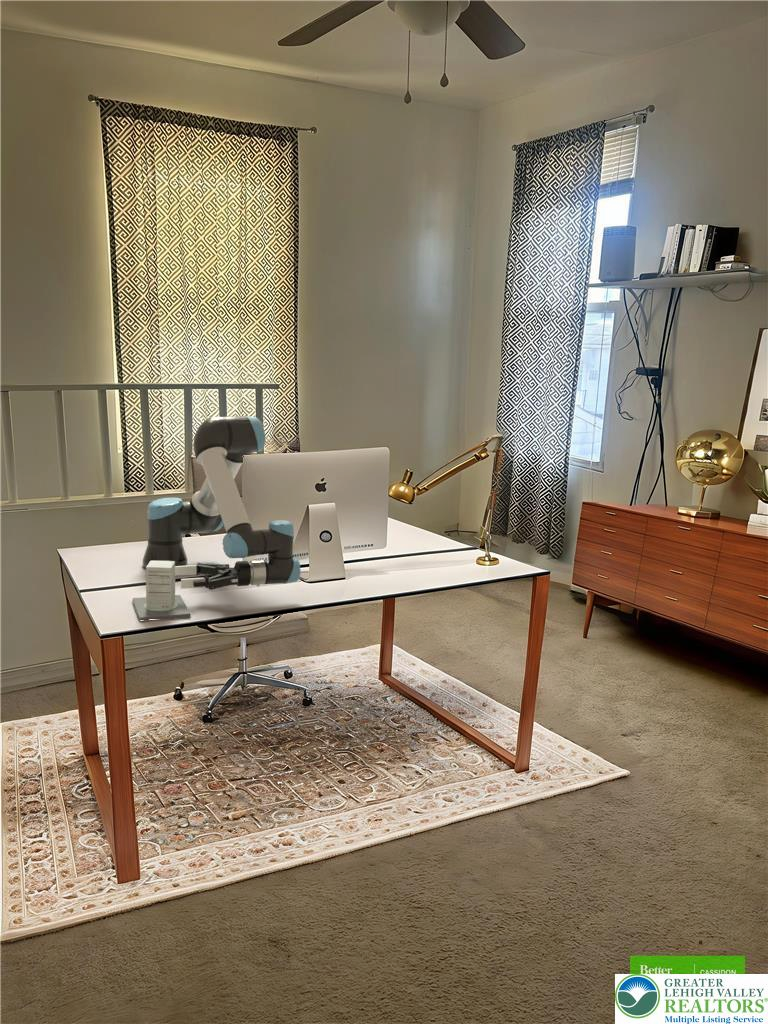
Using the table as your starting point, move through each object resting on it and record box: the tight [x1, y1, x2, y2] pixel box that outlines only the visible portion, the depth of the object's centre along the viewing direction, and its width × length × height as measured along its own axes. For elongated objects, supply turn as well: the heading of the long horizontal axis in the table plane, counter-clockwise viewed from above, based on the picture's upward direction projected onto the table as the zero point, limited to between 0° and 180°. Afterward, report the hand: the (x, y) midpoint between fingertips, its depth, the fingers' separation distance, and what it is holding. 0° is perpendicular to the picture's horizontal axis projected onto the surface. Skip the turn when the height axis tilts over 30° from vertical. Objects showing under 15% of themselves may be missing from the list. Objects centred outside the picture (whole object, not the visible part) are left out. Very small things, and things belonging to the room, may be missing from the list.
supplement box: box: [145, 561, 176, 609], centre depth 231 cm, size 7×7×13 cm
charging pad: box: [132, 594, 191, 621], centre depth 233 cm, size 18×14×1 cm
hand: (177, 577), depth 232 cm, fingers open, 13 cm apart
